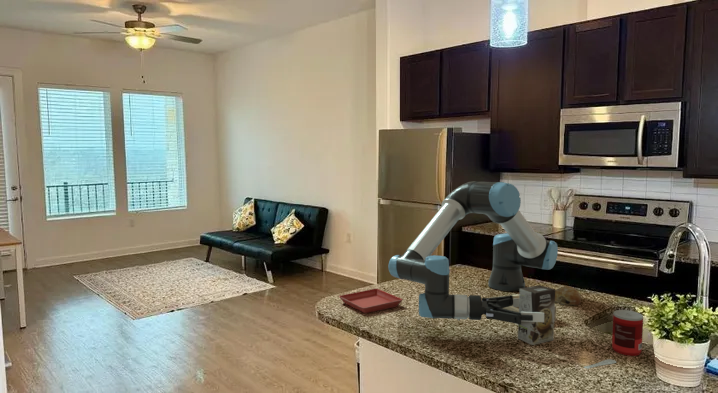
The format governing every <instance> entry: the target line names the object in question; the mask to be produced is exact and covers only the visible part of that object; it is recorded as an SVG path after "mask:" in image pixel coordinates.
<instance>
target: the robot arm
mask: <svg viewBox="0 0 718 393" xmlns="http://www.w3.org/2000/svg"><path fill="white" fill-rule="evenodd" d="M520 208H521V197H520V191H519V189H518V188H517V187H516V186H515V185H514V184H512V183H508V182H502V181H498V182H496V181H492V182H491V181H468V182H466V183H463V184H461V185H459V186H458V187H456V188H455V189H453V190H452V191H451V192H449V194H448V195H446V197H444V199H443V200H442V201H441V207H440V208H439V210H438V211H437V212H436V213H435V215H434V216H433V217H432V218H431V220H430V221H429V222H428V223H427V224H426V226H425V227H424V228H423V229H422V231H421V232H420V233H419V234H418V236H416V238H415V239H414V240H413V242H412V243H411V244H410V245H409V246H408V248H407V249H405V251H404V253H403V254H396V255H393V256H392V257H391V258H390V259H389V262H388V271H389V274H390V275H391V276H392V277H394V278H398V279H400V280H405V281H409V282H415V283H417V284H418V283H419V284H421V285H424V292H420V293H419V295H418V315H419V316H420V317H421V318H429V319H447V320H448V319H451V320H452V319H453V320H457V321H461V320H468V319H469V320H470V321H472V320H473V321H481V320H482V315H483V316H485V318H486V319H488V320H495V321H500V322H504V323H505V322H506V323H510V324H514V323H515V324H514V325H516V324H519V325H520V324H521V321H525V322H544V312H521V313H519V312H515V311H511V310H507V309H504V308H505V307H509V306H512V305H513V307H519V298H513V296H512V295H513V294H509V296H507V295H500V296H501V297H498V296H491V297H492V298H490V297H482V296H481V295H478V294H477V295H476V294H475V295H473V294H470V295H467V294H454V293H452V294H450V273H451V272H450V260H449V258H447V257H446V256H444V255H433V253H434V252H435V251H436V249H437V248H438V247H439V245H440V244H441V243H442V242H443V240H444V239H445V238H446V236H447V235H448V234H449V232H450V231H451V230H452V228H453V227H454V226H455V225H456V224H457V222H458V221H459V220H460V221H461V220H463V219H464V218H465V217H466V215H468V214H480V215H482V214H483V215H485V216H487V217H488V218H489V219H490V221H492V222H493V223H496V224H498V225H500V226H501V228H502V229H503V230H504V231H505V233H499V234H496V235H494V237H493V243H492V247H493V248H492V250H493V251H492V269H491V273H490V276H489V279H488V287H489V288H491V289H494V290H497V291H503V292H520V288H526V281H525V278H524V275H523V272H522V266H524V267H529V268H535V269H540V270H547V271H548V270H551V269H553V268H554V266H555V264H556V262H557V258H558V251H559V250H558V249H559V248H558V243H557V242H555V241H554V240H547V238H545V237H544V235H543V234H541V233H539V232H536V231H535V230H534V228H533V227H532V226H531V224H530V223H529V221H528V220H527V219H526V217H525V216H524V215H523V214H522V212H521V211H520ZM486 319H485V320H486Z"/></svg>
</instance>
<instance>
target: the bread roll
mask: <svg viewBox="0 0 718 393" xmlns="http://www.w3.org/2000/svg"><path fill="white" fill-rule="evenodd" d="M581 302H582V295H581V293H580V292H579V291H578V290H577V289H576V288H574V287H572V286H569V285H565V286H561V287H558V288H556V289H555V303H556V304H560V305H563V306H565V305H566V306H579V305H581Z"/></svg>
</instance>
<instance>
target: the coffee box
mask: <svg viewBox="0 0 718 393" xmlns="http://www.w3.org/2000/svg"><path fill="white" fill-rule="evenodd" d="M555 290H556V289H555V288H552V287H547V286H544V285H540V284H539V285H533V286H527V287H526V286H525V288H520V291H519V313H521V312H544V322H525V321H521V324H520V325H519V324H518V325H517V339H518V340H520V341H522V342H525V343H527V344H529V345H532V346H536V345H540V344H542V343H547V342H551V341H554V339H555V338H554V337H555V334H554V333H555V332H554V331H555V321H554V310H555V306H556V305H555V304H556V301H555Z"/></svg>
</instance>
